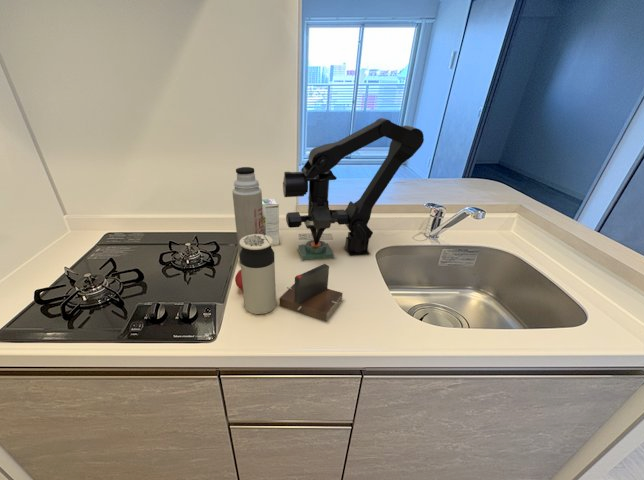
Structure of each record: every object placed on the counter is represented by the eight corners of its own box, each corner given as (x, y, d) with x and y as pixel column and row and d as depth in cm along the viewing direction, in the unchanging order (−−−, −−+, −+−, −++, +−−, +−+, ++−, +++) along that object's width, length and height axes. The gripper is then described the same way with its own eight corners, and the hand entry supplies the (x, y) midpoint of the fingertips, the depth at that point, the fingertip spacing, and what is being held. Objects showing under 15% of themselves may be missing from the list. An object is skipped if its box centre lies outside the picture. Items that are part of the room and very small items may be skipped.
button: (319, 246, 106) (320, 241, 105) (322, 250, 104) (322, 245, 103) (309, 246, 106) (309, 241, 105) (311, 251, 103) (311, 246, 102)
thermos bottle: (270, 260, 102) (266, 167, 86) (253, 270, 97) (245, 173, 81) (251, 253, 106) (244, 163, 90) (234, 263, 101) (223, 169, 85)
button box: (327, 247, 110) (328, 238, 108) (333, 258, 103) (334, 248, 101) (298, 249, 109) (298, 239, 107) (302, 260, 102) (302, 250, 100)
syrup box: (259, 240, 115) (257, 199, 106) (275, 238, 116) (274, 197, 108) (263, 247, 110) (261, 205, 102) (280, 244, 112) (279, 203, 103)
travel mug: (246, 316, 79) (239, 250, 68) (243, 298, 85) (237, 234, 75) (278, 312, 80) (276, 246, 70) (273, 295, 86) (270, 232, 76)
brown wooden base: (347, 297, 85) (348, 289, 84) (324, 327, 75) (325, 318, 74) (299, 283, 91) (299, 275, 90) (273, 309, 81) (272, 301, 80)
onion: (245, 283, 91) (243, 258, 87) (262, 289, 89) (260, 263, 84) (232, 293, 87) (229, 267, 82) (249, 299, 85) (247, 273, 80)
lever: (323, 286, 85) (324, 262, 81) (327, 289, 84) (329, 265, 80) (294, 301, 80) (294, 276, 75) (298, 304, 79) (299, 278, 74)
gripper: (291, 206, 87) (291, 257, 96) (357, 202, 89) (351, 253, 98) (285, 193, 96) (286, 241, 105) (346, 190, 98) (341, 238, 107)
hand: (316, 243), depth 104 cm, fingers closed, pressing on button
